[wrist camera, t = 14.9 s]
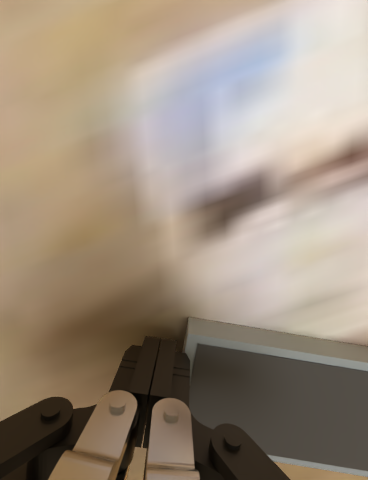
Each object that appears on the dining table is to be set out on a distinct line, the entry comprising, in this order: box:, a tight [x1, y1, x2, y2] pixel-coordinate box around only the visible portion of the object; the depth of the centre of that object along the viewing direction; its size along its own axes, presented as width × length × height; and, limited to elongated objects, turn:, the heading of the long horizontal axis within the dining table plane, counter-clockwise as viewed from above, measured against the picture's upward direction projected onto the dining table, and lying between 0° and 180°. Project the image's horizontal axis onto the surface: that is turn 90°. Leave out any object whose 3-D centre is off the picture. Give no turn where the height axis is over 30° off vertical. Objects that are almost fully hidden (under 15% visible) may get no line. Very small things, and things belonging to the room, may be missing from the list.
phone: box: [182, 317, 368, 477], centre depth 14 cm, size 6×11×2 cm, turn 81°
